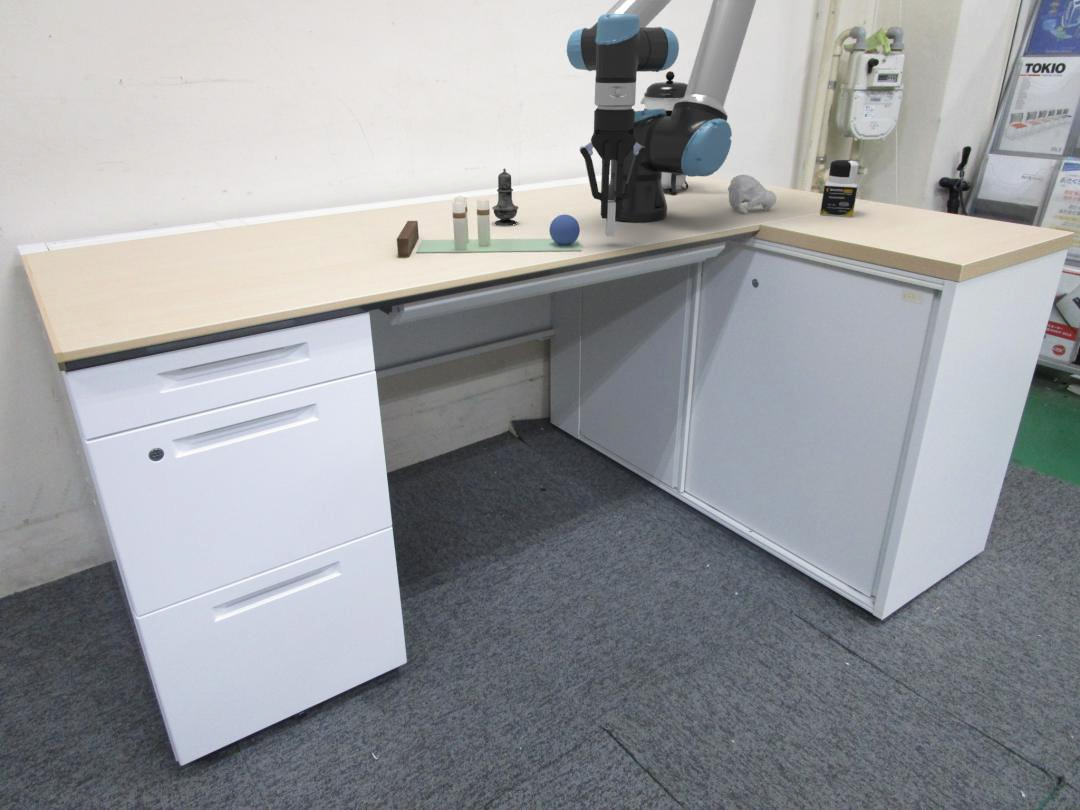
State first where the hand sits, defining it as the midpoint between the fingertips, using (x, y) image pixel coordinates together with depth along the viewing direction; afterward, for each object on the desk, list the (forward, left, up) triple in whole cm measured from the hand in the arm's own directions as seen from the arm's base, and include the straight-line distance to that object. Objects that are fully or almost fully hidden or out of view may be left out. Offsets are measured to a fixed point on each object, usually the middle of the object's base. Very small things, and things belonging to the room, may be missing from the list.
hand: (609, 234), depth 149 cm
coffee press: (-23, -61, -2) cm, 65 cm away
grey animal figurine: (-38, -32, -2) cm, 50 cm away
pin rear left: (+29, +3, -2) cm, 30 cm away
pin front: (+25, 0, -2) cm, 25 cm away
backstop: (+40, 0, -2) cm, 40 cm away
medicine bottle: (-57, -28, -2) cm, 64 cm away
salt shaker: (+21, -21, -2) cm, 30 cm away
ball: (+9, 0, +1) cm, 9 cm away
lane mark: (+22, 0, -2) cm, 22 cm away
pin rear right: (+29, -3, -2) cm, 30 cm away
